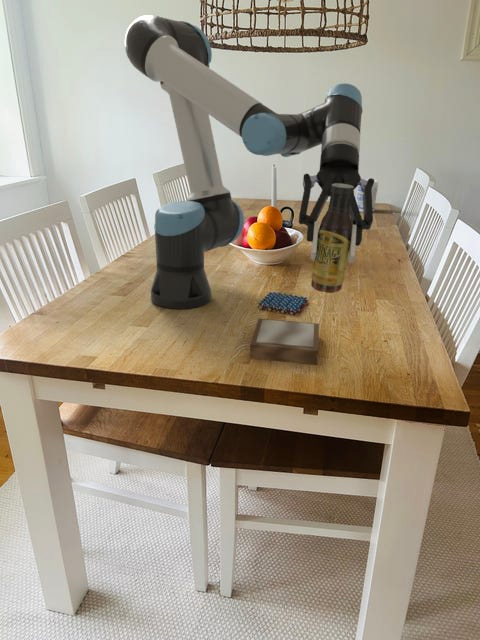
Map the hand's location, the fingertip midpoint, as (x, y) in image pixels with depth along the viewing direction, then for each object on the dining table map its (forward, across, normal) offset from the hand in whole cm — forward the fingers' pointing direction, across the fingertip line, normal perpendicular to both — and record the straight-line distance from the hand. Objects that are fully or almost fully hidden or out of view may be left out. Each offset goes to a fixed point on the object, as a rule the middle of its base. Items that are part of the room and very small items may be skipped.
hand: (332, 257), depth 89 cm
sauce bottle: (+3, 0, -8) cm, 8 cm away
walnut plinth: (+13, +7, -16) cm, 22 cm away
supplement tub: (-97, -25, -130) cm, 164 cm away
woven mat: (-2, +8, -33) cm, 34 cm away
